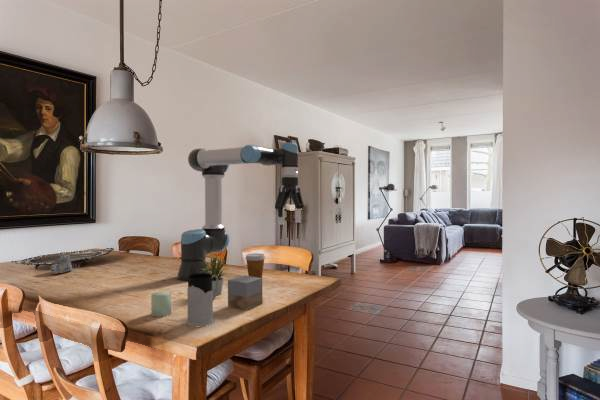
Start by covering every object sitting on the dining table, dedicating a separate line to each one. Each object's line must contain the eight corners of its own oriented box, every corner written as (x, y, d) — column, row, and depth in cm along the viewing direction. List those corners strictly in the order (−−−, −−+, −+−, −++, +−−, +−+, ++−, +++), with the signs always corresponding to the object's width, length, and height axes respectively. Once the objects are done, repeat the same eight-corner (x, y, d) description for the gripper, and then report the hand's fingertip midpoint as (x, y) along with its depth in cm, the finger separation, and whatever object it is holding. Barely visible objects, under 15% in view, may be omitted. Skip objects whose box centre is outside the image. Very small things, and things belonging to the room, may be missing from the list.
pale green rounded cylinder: (147, 315, 123) (147, 294, 123) (163, 310, 128) (163, 290, 128) (159, 318, 119) (159, 297, 119) (175, 313, 125) (175, 293, 125)
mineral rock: (52, 276, 181) (52, 256, 181) (41, 274, 187) (41, 255, 187) (78, 271, 193) (78, 253, 193) (67, 269, 198) (67, 251, 198)
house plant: (193, 291, 153) (193, 252, 153) (226, 287, 159) (225, 250, 159) (198, 299, 140) (197, 258, 140) (233, 295, 146) (233, 255, 145)
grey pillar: (180, 325, 113) (179, 277, 113) (207, 311, 126) (207, 269, 126) (203, 328, 110) (203, 280, 110) (228, 314, 123) (228, 270, 123)
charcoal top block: (227, 293, 132) (227, 280, 132) (244, 288, 140) (244, 275, 140) (246, 297, 127) (246, 283, 127) (262, 291, 135) (262, 278, 135)
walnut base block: (228, 307, 132) (227, 293, 132) (244, 301, 140) (244, 288, 140) (246, 311, 127) (246, 297, 127) (262, 304, 135) (262, 291, 135)
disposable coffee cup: (266, 277, 179) (266, 253, 179) (263, 281, 169) (262, 256, 169) (248, 276, 180) (248, 253, 180) (243, 281, 170) (243, 256, 170)
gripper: (280, 175, 151) (281, 225, 151) (310, 177, 172) (310, 222, 172) (266, 176, 155) (266, 225, 155) (297, 178, 176) (297, 221, 176)
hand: (290, 223), depth 164 cm, fingers open, 13 cm apart
